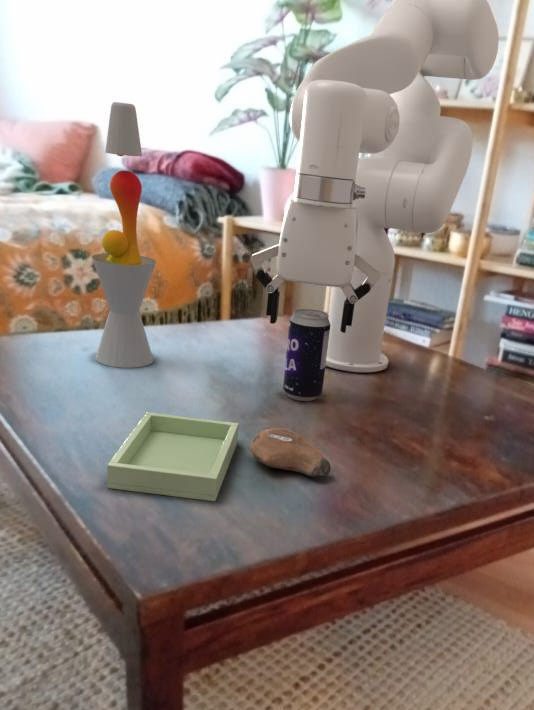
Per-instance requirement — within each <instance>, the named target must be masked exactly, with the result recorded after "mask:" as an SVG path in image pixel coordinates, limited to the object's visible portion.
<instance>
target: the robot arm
mask: <svg viewBox="0 0 534 710" xmlns="http://www.w3.org/2000/svg"><path fill="white" fill-rule="evenodd" d="M498 52H499V29H498V25H497V22H496V19H495V16H494V14H493V11H492V9H491V6H490V4H489V2H488V0H392V1H391V3H389V5H388V7H387V8H386V10H385V11H384V12H383V14H382V16H381V18H380V19H379V21H378V22H377V24H376V26H375V27H374V28H373V29H372V31H371V33H370V34H369V35H367V36H364V37H362V38H360V39H357V40H355V41H353V42H350V43H348V44H346V45H344V46H342V47H339V48H338V49H336V50H333V51H331V52H330V53H327V54H326V55H324V56H323V57H321V58H320V59H319V60H317V61H316V62H315V63H314V64H313V65H312V66H311V68H310V69H309V71H308V72H307V73H306V75H305V76H304V77H303V79H302V81H301V82H300V84H299V86H298V88H297V90H296V91H295V93H294V95H293V96H294V97H293V98H292V102H291V105H290V109H289V110H290V111H289V126H290V129H291V130H290V131H291V133H292V135H293V136H294V138H295V139H296V141H298V142H299V146H298V154H297V163H296V174H295V182H294V193H293V199H290V198H289V199H288V201H287V203H286V207H285V211H284V215H283V219H282V224H281V231H280V236H279V243H278V244H276V245H273V246H271V247H268V248H266V249H263V250H261V251H258V252H255V253H253V254H252V255H251V256H250V257H249V258H250V259H249V260H250V263H251V266H252V268H253V271H254V273H255V276H256V278H257V280H258V281H259V283H260V284H261V285H262V286H263V287H264V289H265V291H266V292H267V298H266V299H267V301H266V311H265V312H266V313H265V315H266V316H269V317H270V319H269V324H271V325H272V324H273V325H274V324H276V322H277V320H278V315H279V306H280V295H281V292H280V291H279V288H280V286H282V285H283V284H284V283H285V282H286V281H287V282H293V283H300V284H308V285H314V286H315V285H316V286H323V287H324V286H325V287H330V296H329V298H330V299H329V305H328V313H327V314H328V315H329V317H328V319H329V322H330V333H329V341H328V349H327V357H326V365H325V367H328V368H331V369H334V370H337V371H338V370H339V371H343V372H350V373H365V374H367V373H377V372H381V371H384V370H386V369H387V368H388V366H389V358H388V357H387V355H385V354H384V353H382V352H381V351H382V344H383V339H384V334H385V333H384V332H385V328H386V327H385V326H386V320H387V314H388V307H389V300H390V295H391V288H392V282H393V277H394V272H395V271H394V270H395V264H396V257H395V250H394V247H393V244H392V243H391V241H390V238H389V236H388V234H387V232H386V229H392V230H400V231H406V232H414V233H420V234H421V233H422V234H432V233H436V232H437V231H439V230H440V229H441V228H442V227H443V226H444V225H445V223H446V221H447V219H448V217H449V215H450V213H451V211H452V208H453V206H454V203H455V200H456V198H457V196H458V194H459V191H460V189H461V187H462V184H463V182H464V179H465V176H466V175H467V171H468V170H469V169H468V168H469V165H470V162H471V158H472V152H473V134H472V133H473V132H472V130H471V128H470V126H469V124H468V123H466V121H464V120H462V119H460V118H458V117H451V116H443V115H442V116H441V112H442V110H441V103H440V100H439V97H438V96H437V93H436V92H435V89H434V88H433V87H432V85H431V84H430V83H429V81H428V80H427V78H426V77H433V78H446V79H456V80H457V79H458V80H470V81H472V80H473V81H475V80H481V79H483V78H485V77H486V76H487V75H488V74H489V73H490V72H491V70H492V68H493V67H494V65H495V63H496V59H497V57H498ZM360 154H366V155H367V154H368V155H367V156H363V157H359V156H360ZM276 257H277V258H276ZM273 258H276V275H275V276H273V278H272V277H271V276H270V274H269V273H268V271H267V270H266V268H265V265H264V262H265V261H268V260H270V259H273Z"/></svg>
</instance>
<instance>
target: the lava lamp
mask: <svg viewBox="0 0 534 710" xmlns="http://www.w3.org/2000/svg"><path fill="white" fill-rule="evenodd" d="M109 112H110V113H109V119H108V126H107V136H106V142H105V150H104V153H105V154H111V155H116V156H118V157H124V156H128V157H143V152H142V145H141V136H140V130H139V122H138V116H137V109H136V106H135V105H134V104H133V103H128V102H120V101H119V102H118V101H114V102H112V103H111V106H110V111H109ZM109 190H110V193H111V195H112V197H113V199H114V202H115V204H116V205H117V208H118V211H119V214H120V217H121V224H122V226H121V227H122V231H121V230H118V229H111V230H108V231H107V232H106V233H105V234H104V235H103V237H102V242H101V243H102V247H103V249H104V251H105V253H98V254H94V255H93V256H91V260H92V263H93V265H94V268H95V271H96V273H97V277H98V280H99V282H100V285H101V288H102V291H103V294H104V297H105V299H106V303H107V305H108V308H109V311H108V315H107V318H106V321H105V325H104V328H103V331H102V334H101V338H100V342H99V345H98V348H97V352H96V356H95V360H96V361H97V362H98V363H99V364H101V365H104V366H109V367H113V368H120V369H121V368H123V369H134V368H135V369H136V368H143V367H146V366H148V365H151V364H152V363H153V362H154V358H153V353H152V350H151V347H150V344H149V340H148V337H147V333H146V329H145V327H144V322H143V319H142V317H141V313H140V310H141V307H142V304H143V302H144V299H145V296H146V293H147V290H148V287H149V285H150V281H151V278H152V276H153V273H154V271H155V267H156V264H157V261H156V259H154V258H152V257H149V256H144V255H141V254H140V249H139V246H138V233H137V225H138V223H137V221H138V220H137V219H138V212H139V205H140V201H141V196H142V192H143V185H142V182H141V180H140V178H139V177H138V176H137V174H136V173H134V172H132V171H131V170H125V169H124V170H119V171H117V172H115V173H114V174H113V175H112V177H111V178H110V182H109Z"/></svg>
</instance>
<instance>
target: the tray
mask: <svg viewBox="0 0 534 710" xmlns="http://www.w3.org/2000/svg"><path fill="white" fill-rule="evenodd" d="M238 438H239V422H230V421H222V420H215V419H214V420H213V419H207V418H198V417H192V416H191V417H189V416H182V415H173V414H166V413H159V412H158V413H157V412H148V411H146V413H145V414H144V415H143V416H142V418H141V419H140V420H139V422H138V423H137V425H136V426H135V428H134V429H133V430H132V432H131V433H130V434H129V436H128V437H127V438H126V439H125V441H124V442H123V443H122V445H121V446H120V447H119V449H118V450H117V451H116V453H115V454H114V456H113V457H112V458H111V459H110V461H109V462H108V464H107V466H106V467H107V468H106V469H107V489H113V490H120V491H129V492H137V493H145V494H152V495H160V496H167V497H168V496H169V497H177V498H184V499H192V500H200V501H209V502H216V501H217V497H218V495H219V492H220V490H221V487H222V485H223V482H224V480H225V477H226V474H227V472H228V468H229V466H230V463H231V460H232V458H233V456H234V453H235V451H236V448H237V445H238V440H239V439H238Z"/></svg>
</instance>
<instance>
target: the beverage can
mask: <svg viewBox="0 0 534 710" xmlns="http://www.w3.org/2000/svg"><path fill="white" fill-rule="evenodd" d="M292 313H293V314H292V316H291V317H290V319H289V321H288V322H289V323H288V332H287V344H286V354H285V364H284V373H283V374H284V375H283V384H282V389H283V391H284V392H285V393H286V395H287V396H288V397H289V398H290V399H292V400H295V401H301V402H311V401H314V400H316V399H317V398H318V397H319V396H320V395H322V394H323V389H324V381H325V380H324V379H325V372H326V366H325V365H326V357H327V349H328V341H329V333H330V322H329V319H328V317H329V315H328V313H327V312H326V311H323V310H319V309H313V308H312V309H311V308H297V309H294V310H293V312H292Z"/></svg>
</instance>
